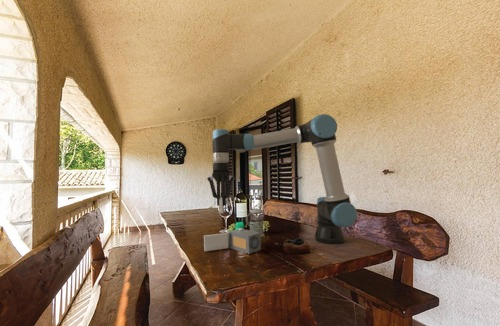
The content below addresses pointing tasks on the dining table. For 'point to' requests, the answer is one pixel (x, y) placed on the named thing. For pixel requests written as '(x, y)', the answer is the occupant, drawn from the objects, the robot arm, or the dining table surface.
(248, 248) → the camera block
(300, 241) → the pastry
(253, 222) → the french press
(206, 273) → the dining table surface
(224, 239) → the side door
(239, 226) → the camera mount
